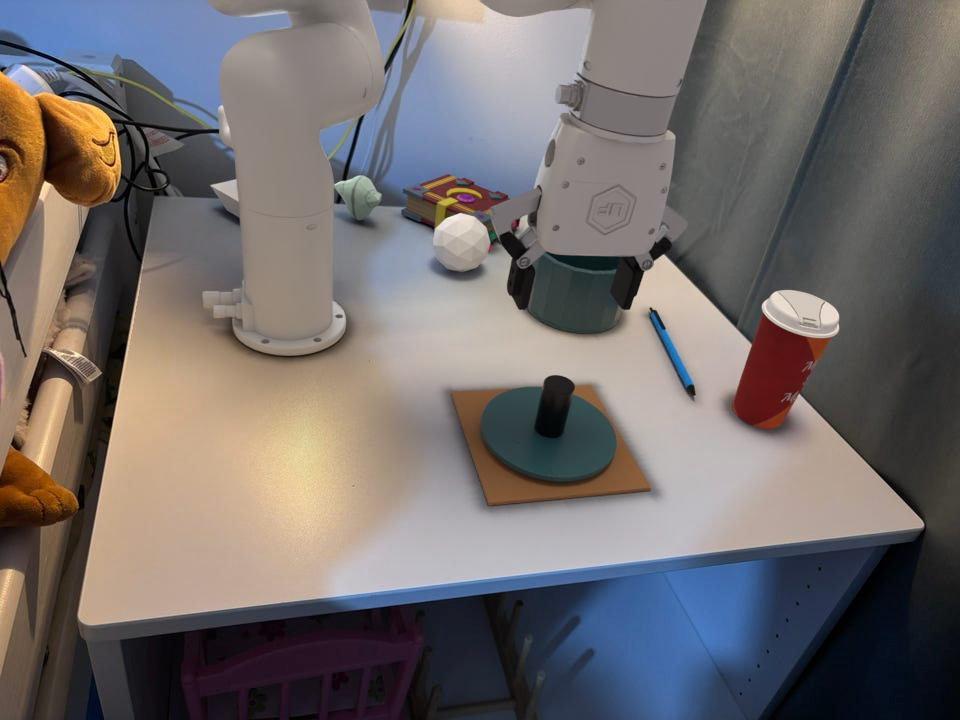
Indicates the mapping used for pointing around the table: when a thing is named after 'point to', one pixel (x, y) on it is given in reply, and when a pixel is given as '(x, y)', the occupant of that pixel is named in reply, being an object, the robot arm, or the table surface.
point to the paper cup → (783, 355)
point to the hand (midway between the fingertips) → (569, 301)
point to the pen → (672, 351)
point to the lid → (548, 432)
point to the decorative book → (452, 202)
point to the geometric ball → (461, 242)
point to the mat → (519, 488)
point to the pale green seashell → (359, 196)
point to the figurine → (229, 188)
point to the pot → (575, 292)
